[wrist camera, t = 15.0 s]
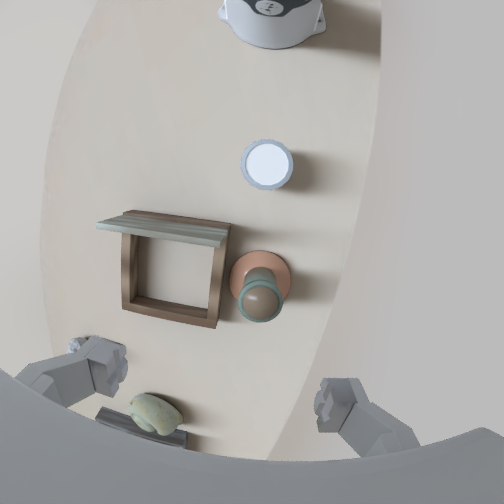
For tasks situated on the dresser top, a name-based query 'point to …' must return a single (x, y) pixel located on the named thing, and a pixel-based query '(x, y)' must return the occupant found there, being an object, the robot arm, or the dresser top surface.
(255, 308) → the plant pot
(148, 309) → the frame
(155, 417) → the seashell
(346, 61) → the dresser top surface
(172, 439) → the display tray
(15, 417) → the robot arm
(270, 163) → the shot glass
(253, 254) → the pink round part
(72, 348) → the grey rock chunk
